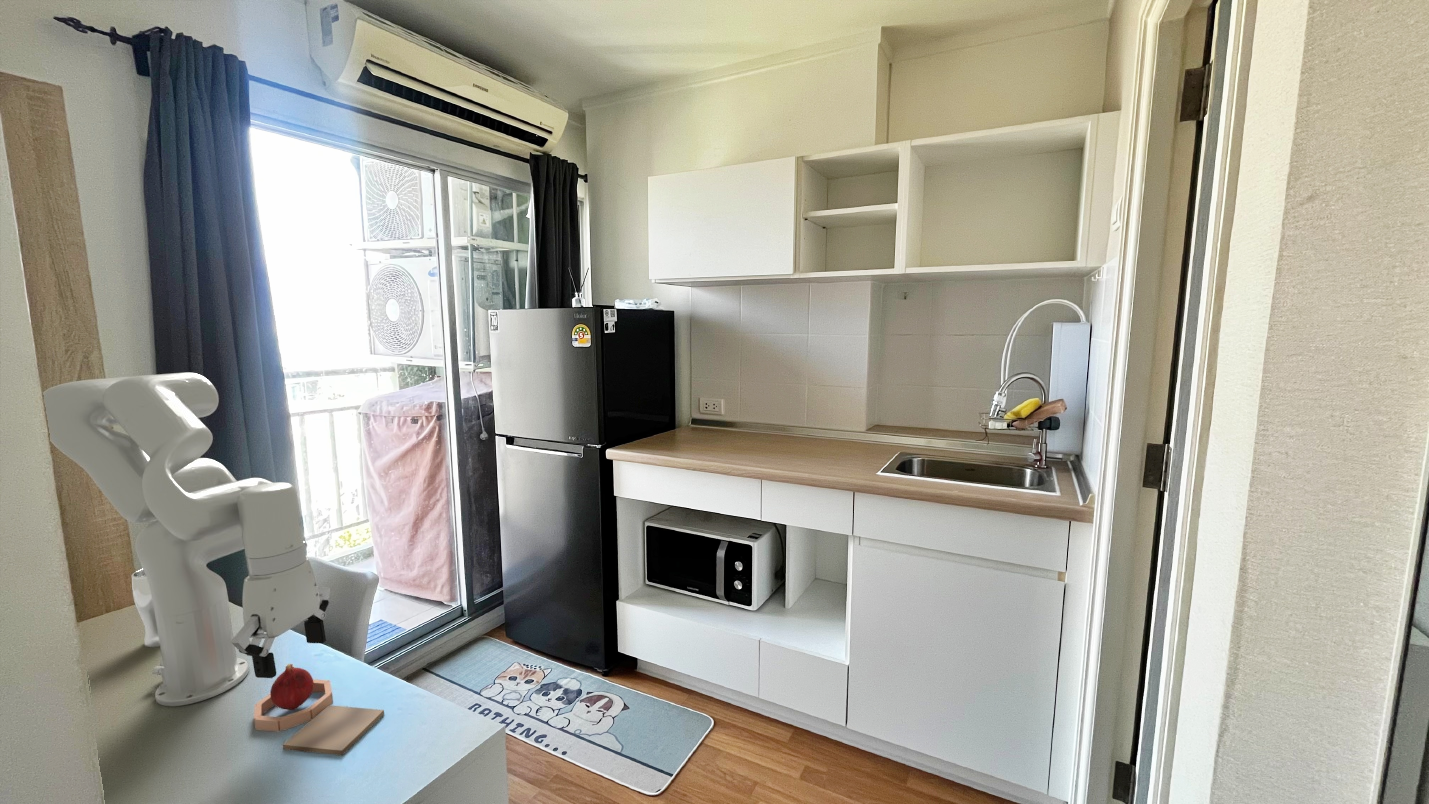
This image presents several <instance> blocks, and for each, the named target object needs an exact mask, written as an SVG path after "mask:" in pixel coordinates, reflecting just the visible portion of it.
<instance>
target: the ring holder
mask: <svg viewBox="0 0 1429 804" xmlns="http://www.w3.org/2000/svg"><path fill="white" fill-rule="evenodd" d="M313 682H314V686H313V690H312V693H320V694H321V693H323V695H322V696H321V697H320V698H318V699H317V700H316V701H315V702H314V703H312V704H311V705H310V706H308V707H307V708H304V709H302V710H299V711H296V712H293V713H290V714H287V715H284V716H279V717H278V716H268V715H264V714H265V713H266V712H267V711H268V710H270V709H271V708H273V707H274V706H276V705H275V704H273V702H272V700H271V696H270V693H269V694H267V695H266V696H265V697H264V698H262V699H261V700H259V701H258V702H257V703H256V704H255V705H254V706H253V707H254V712H253V723H254V728H255V730H257V731H266V732H277V733H278V732H283V731H286V730H288V729H292V728H293V727H297V726H300V725H303V724H307V723H309V722H310V721H311V720H312V719H313V718H315V717H316V716H317V715H318V714H319V713H321V712H322V711H323V710H324V709H325V708H327V707H328V706H329V705H333V703H334V699H333V698H334V697H333V691H332V685H331V681H330V680H327V679H316V678H313Z"/></svg>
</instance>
